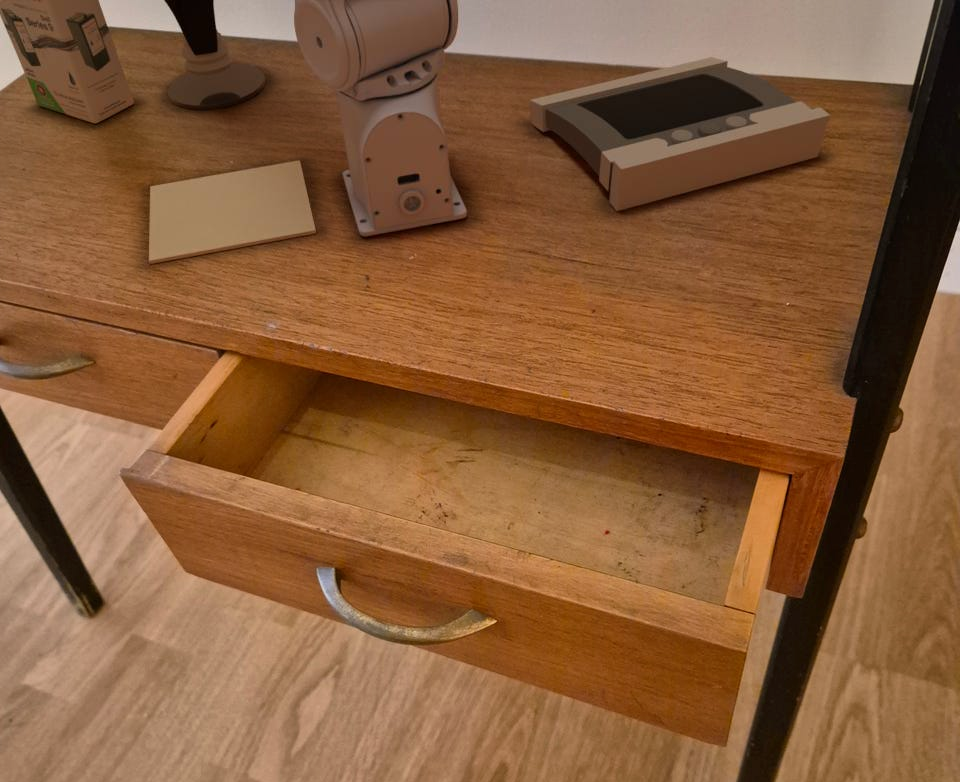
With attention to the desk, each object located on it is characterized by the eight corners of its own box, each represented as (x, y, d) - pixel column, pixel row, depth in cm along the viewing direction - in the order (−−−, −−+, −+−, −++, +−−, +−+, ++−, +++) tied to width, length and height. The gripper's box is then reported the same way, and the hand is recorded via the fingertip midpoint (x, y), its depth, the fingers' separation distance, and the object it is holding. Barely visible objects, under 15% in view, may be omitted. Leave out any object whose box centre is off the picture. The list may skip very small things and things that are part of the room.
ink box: (35, 106, 82) (-26, -34, 73) (77, 85, 84) (23, -52, 76) (95, 125, 78) (39, -19, 70) (138, 103, 81) (88, -39, 72)
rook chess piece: (223, 77, 79) (197, -20, 73) (177, 76, 80) (148, -20, 74) (241, 56, 82) (218, -38, 76) (197, 55, 82) (170, -39, 77)
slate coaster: (269, 100, 80) (268, 95, 79) (169, 116, 79) (167, 112, 78) (261, 61, 86) (260, 57, 85) (168, 76, 85) (167, 72, 84)
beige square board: (316, 233, 64) (315, 229, 64) (150, 264, 62) (148, 260, 62) (300, 163, 71) (299, 160, 71) (151, 189, 70) (150, 186, 70)
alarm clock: (621, 169, 61) (528, 64, 70) (615, 225, 65) (527, 119, 74) (830, 115, 64) (714, 22, 74) (813, 171, 68) (704, 76, 78)
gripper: (107, -150, 74) (160, 21, 84) (99, -105, 64) (160, 83, 74) (192, -160, 74) (234, 10, 84) (196, -118, 65) (244, 69, 75)
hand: (205, 43), depth 79 cm, fingers closed on rook chess piece, 3 cm apart
